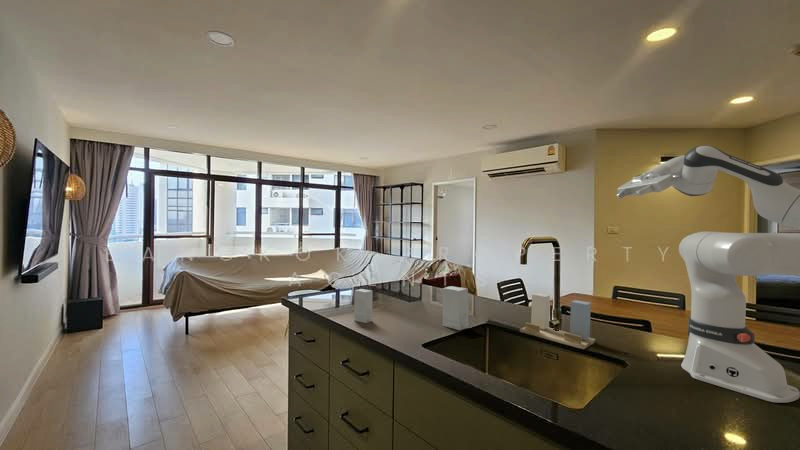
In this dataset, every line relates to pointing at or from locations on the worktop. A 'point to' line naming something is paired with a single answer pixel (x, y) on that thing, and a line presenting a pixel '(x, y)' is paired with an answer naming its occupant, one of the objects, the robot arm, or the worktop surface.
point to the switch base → (557, 336)
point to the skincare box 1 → (363, 305)
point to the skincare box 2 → (455, 307)
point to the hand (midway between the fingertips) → (627, 195)
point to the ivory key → (540, 310)
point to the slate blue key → (580, 319)
